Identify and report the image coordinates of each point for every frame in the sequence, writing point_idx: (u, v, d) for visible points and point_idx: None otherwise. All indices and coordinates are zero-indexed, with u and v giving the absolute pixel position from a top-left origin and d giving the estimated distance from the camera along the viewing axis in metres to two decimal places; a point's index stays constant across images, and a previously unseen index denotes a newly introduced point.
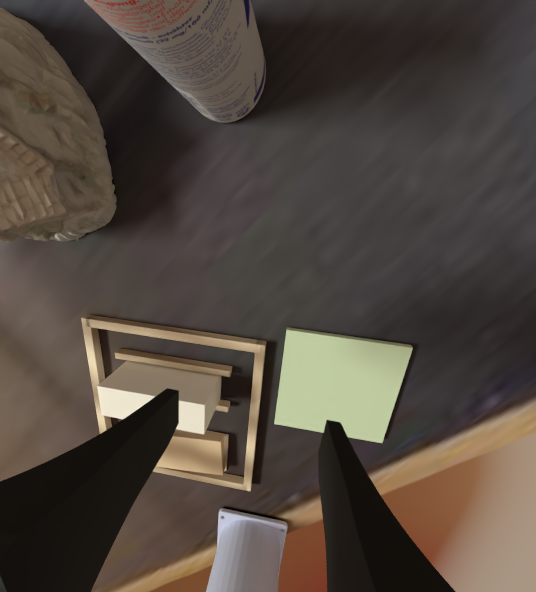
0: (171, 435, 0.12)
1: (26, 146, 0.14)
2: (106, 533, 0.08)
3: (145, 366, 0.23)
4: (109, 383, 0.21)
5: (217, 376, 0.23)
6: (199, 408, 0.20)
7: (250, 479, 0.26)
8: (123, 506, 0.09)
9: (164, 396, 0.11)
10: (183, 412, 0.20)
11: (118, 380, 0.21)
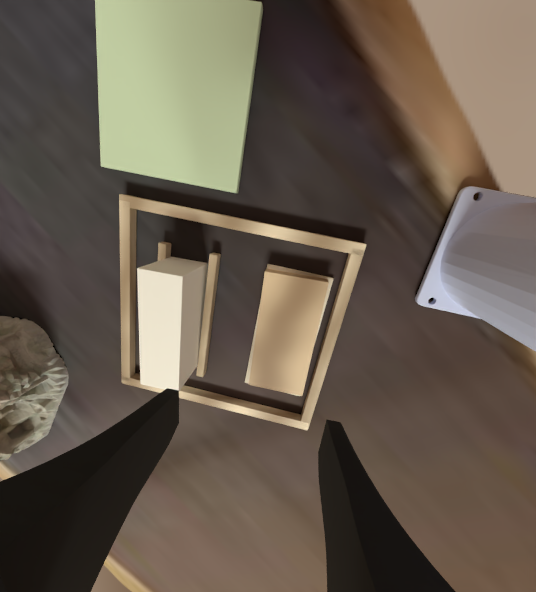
0: (171, 435, 0.12)
1: None
2: (106, 533, 0.08)
3: None
4: None
5: None
6: (143, 275, 0.16)
7: (340, 240, 0.17)
8: (123, 506, 0.09)
9: (164, 396, 0.11)
10: (153, 296, 0.16)
11: None
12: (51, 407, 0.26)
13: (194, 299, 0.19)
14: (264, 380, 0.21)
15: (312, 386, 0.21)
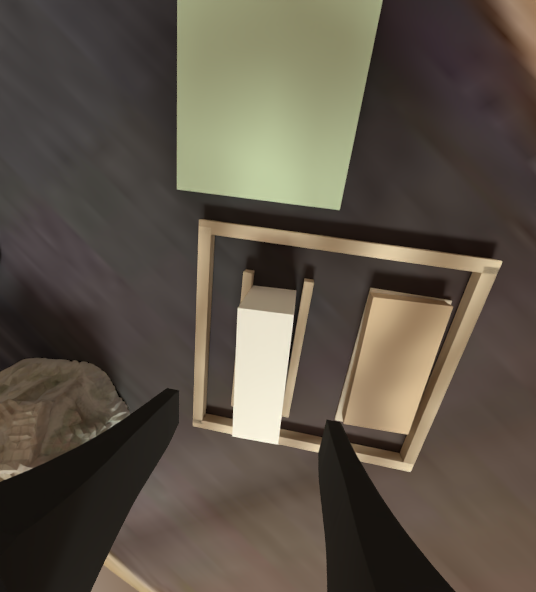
0: (171, 435, 0.12)
1: None
2: (106, 533, 0.08)
3: None
4: None
5: None
6: (245, 316, 0.14)
7: (468, 258, 0.14)
8: (123, 506, 0.09)
9: (164, 396, 0.11)
10: (256, 339, 0.14)
11: None
12: None
13: None
14: (363, 418, 0.18)
15: (420, 424, 0.18)
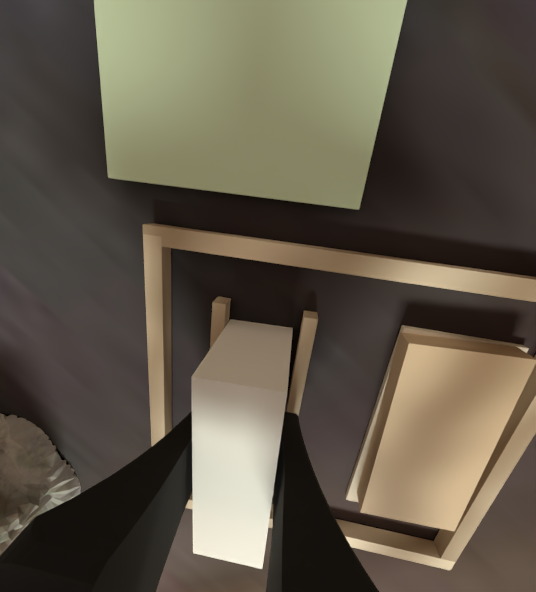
0: None
1: None
2: (164, 548, 0.08)
3: None
4: None
5: None
6: (204, 390, 0.08)
7: None
8: (176, 519, 0.09)
9: None
10: (224, 425, 0.08)
11: None
12: None
13: None
14: (389, 507, 0.13)
15: (467, 514, 0.13)
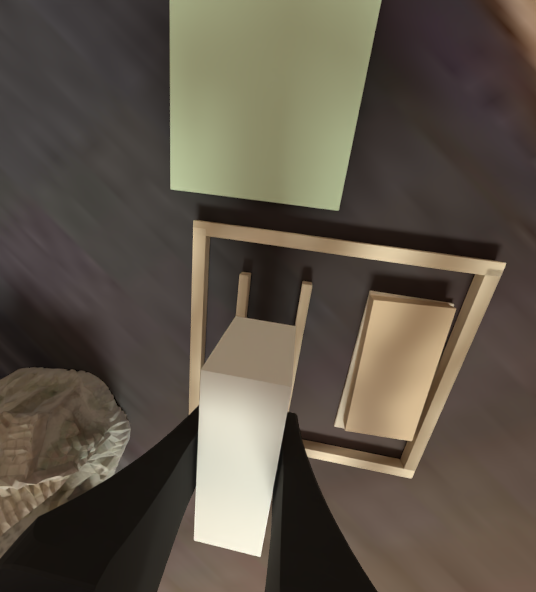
0: None
1: None
2: (164, 548, 0.08)
3: None
4: None
5: None
6: (212, 382, 0.08)
7: (471, 260, 0.14)
8: (177, 519, 0.09)
9: None
10: (230, 416, 0.09)
11: None
12: (112, 465, 0.23)
13: None
14: (365, 425, 0.18)
15: (421, 430, 0.18)
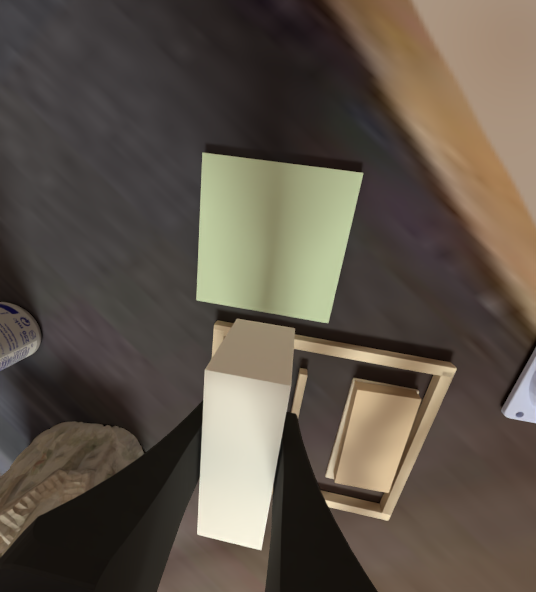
0: None
1: (40, 484, 0.20)
2: (164, 548, 0.08)
3: None
4: None
5: (231, 328, 0.12)
6: (216, 382, 0.09)
7: (430, 365, 0.18)
8: (176, 519, 0.09)
9: None
10: (232, 414, 0.09)
11: None
12: None
13: None
14: (350, 479, 0.22)
15: (395, 484, 0.22)
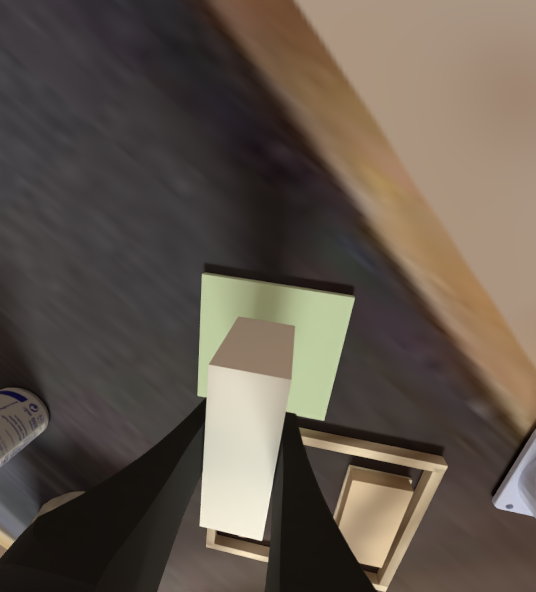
0: None
1: None
2: (165, 548, 0.08)
3: None
4: None
5: None
6: (219, 376, 0.09)
7: (422, 461, 0.19)
8: (177, 519, 0.09)
9: None
10: (234, 408, 0.10)
11: None
12: None
13: None
14: None
15: (391, 561, 0.23)
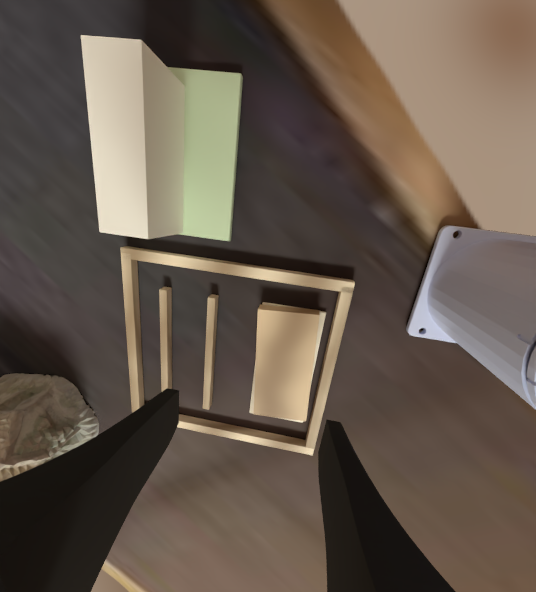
0: (171, 435, 0.12)
1: None
2: (106, 533, 0.08)
3: None
4: None
5: None
6: (90, 47, 0.12)
7: (329, 280, 0.18)
8: (123, 506, 0.09)
9: (164, 396, 0.11)
10: (106, 81, 0.12)
11: None
12: None
13: (166, 115, 0.14)
14: (268, 409, 0.22)
15: (313, 414, 0.22)
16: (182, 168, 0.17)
